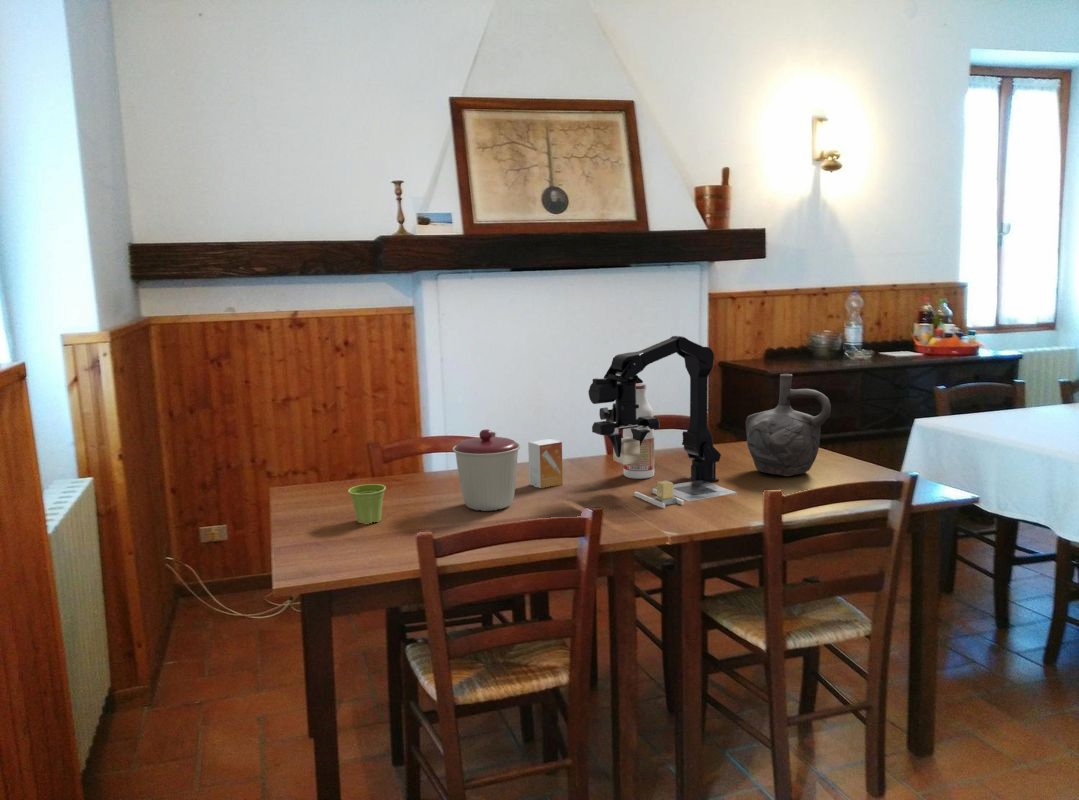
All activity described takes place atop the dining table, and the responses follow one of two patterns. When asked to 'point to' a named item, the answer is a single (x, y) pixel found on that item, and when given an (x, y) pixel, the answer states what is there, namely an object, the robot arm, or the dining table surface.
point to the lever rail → (656, 500)
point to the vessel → (786, 433)
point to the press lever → (665, 493)
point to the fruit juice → (647, 447)
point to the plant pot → (367, 502)
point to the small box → (545, 463)
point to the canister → (487, 471)
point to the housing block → (628, 451)
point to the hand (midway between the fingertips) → (626, 455)
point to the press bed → (699, 490)
